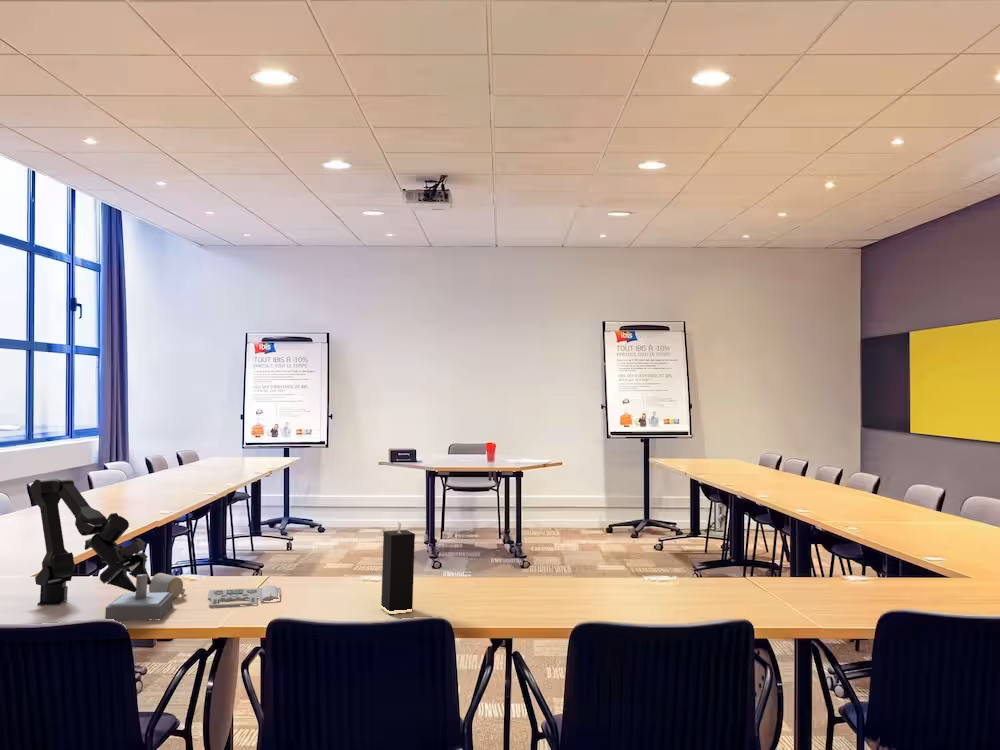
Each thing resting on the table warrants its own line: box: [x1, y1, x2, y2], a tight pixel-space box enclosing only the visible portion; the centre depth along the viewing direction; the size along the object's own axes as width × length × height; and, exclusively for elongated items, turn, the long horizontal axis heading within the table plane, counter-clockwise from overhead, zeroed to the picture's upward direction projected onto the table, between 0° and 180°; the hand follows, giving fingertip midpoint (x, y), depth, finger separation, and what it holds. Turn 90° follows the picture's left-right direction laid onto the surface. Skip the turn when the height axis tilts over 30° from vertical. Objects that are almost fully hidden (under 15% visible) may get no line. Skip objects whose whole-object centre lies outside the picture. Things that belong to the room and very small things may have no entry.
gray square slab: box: [104, 593, 174, 622], centre depth 224 cm, size 15×15×4 cm
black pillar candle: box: [380, 521, 416, 611], centre depth 234 cm, size 8×8×28 cm
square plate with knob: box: [110, 574, 169, 607], centre depth 224 cm, size 13×13×8 cm
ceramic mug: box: [148, 572, 186, 600], centre depth 244 cm, size 11×8×8 cm
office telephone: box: [207, 584, 282, 609], centre depth 244 cm, size 23×3×20 cm
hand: (143, 587), depth 224 cm, fingers open, 9 cm apart
